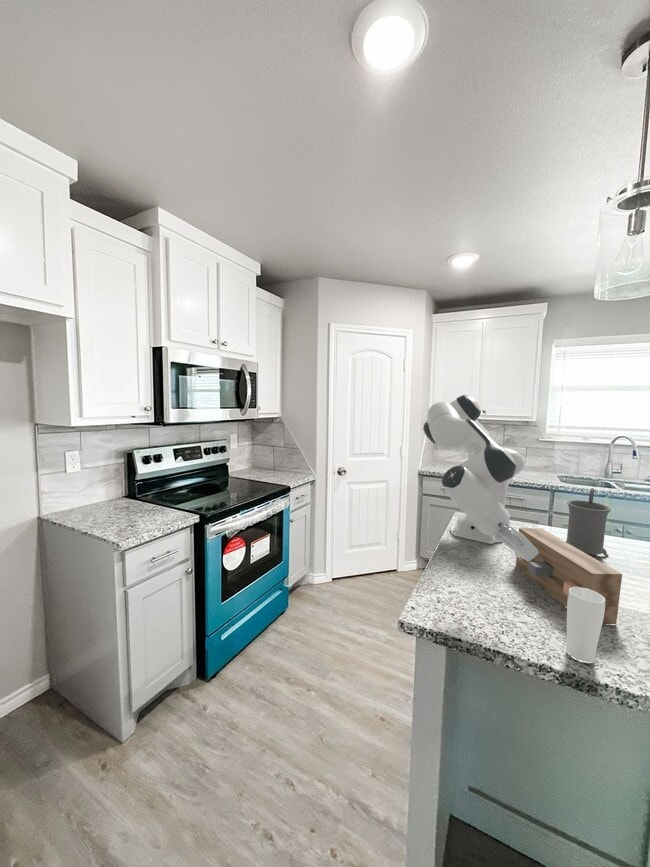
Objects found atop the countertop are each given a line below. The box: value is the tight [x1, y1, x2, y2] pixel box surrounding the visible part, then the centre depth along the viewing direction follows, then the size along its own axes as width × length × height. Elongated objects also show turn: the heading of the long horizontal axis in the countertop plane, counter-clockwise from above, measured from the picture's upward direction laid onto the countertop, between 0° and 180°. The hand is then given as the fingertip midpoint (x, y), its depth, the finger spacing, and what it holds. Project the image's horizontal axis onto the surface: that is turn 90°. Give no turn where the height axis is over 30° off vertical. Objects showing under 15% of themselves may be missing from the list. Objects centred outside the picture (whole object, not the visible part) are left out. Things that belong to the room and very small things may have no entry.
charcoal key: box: [528, 562, 553, 577], centre depth 110 cm, size 6×4×3 cm, turn 92°
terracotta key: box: [563, 582, 583, 596], centre depth 98 cm, size 6×4×3 cm, turn 92°
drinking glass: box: [565, 587, 605, 662], centre depth 81 cm, size 7×7×15 cm
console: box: [515, 527, 623, 625], centre depth 110 cm, size 8×33×14 cm, turn 2°
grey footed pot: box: [565, 487, 612, 558], centre depth 140 cm, size 19×15×25 cm
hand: (523, 554), depth 97 cm, fingers closed
